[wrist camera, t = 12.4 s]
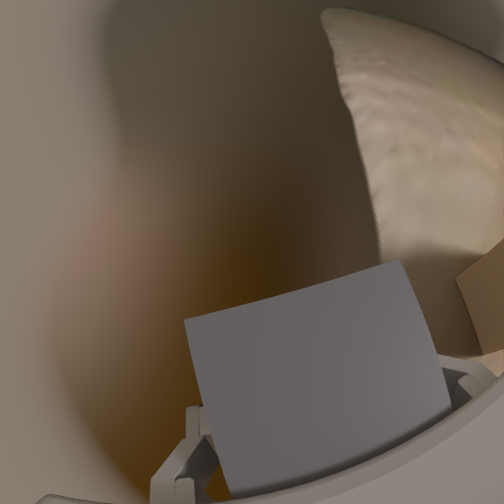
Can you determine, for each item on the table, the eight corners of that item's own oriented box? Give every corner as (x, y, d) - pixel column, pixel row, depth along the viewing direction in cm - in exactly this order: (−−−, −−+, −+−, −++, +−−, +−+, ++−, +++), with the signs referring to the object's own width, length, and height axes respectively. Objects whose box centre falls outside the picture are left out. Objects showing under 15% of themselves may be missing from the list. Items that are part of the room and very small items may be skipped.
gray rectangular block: (371, 426, 12) (460, 448, 5) (255, 465, 12) (246, 535, 4) (338, 321, 15) (399, 258, 8) (223, 354, 14) (183, 319, 7)
